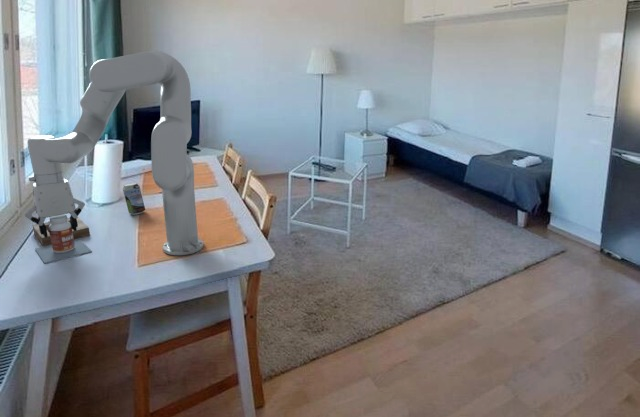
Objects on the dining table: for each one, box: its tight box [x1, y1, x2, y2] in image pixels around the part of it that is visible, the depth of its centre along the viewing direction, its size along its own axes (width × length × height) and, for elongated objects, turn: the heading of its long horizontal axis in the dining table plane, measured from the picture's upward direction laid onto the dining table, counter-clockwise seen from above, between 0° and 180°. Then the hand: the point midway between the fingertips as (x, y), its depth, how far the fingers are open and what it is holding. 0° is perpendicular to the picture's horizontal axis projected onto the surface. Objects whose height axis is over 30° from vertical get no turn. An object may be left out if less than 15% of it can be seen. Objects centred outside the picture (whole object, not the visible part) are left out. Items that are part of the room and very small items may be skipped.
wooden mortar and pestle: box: [32, 216, 91, 247], centre depth 154 cm, size 19×14×16 cm
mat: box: [34, 238, 92, 265], centre depth 142 cm, size 13×13×1 cm
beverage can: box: [122, 182, 146, 216], centre depth 173 cm, size 6×7×12 cm
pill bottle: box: [49, 214, 75, 253], centre depth 140 cm, size 6×6×11 cm
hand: (60, 232), depth 140 cm, fingers open, 7 cm apart
